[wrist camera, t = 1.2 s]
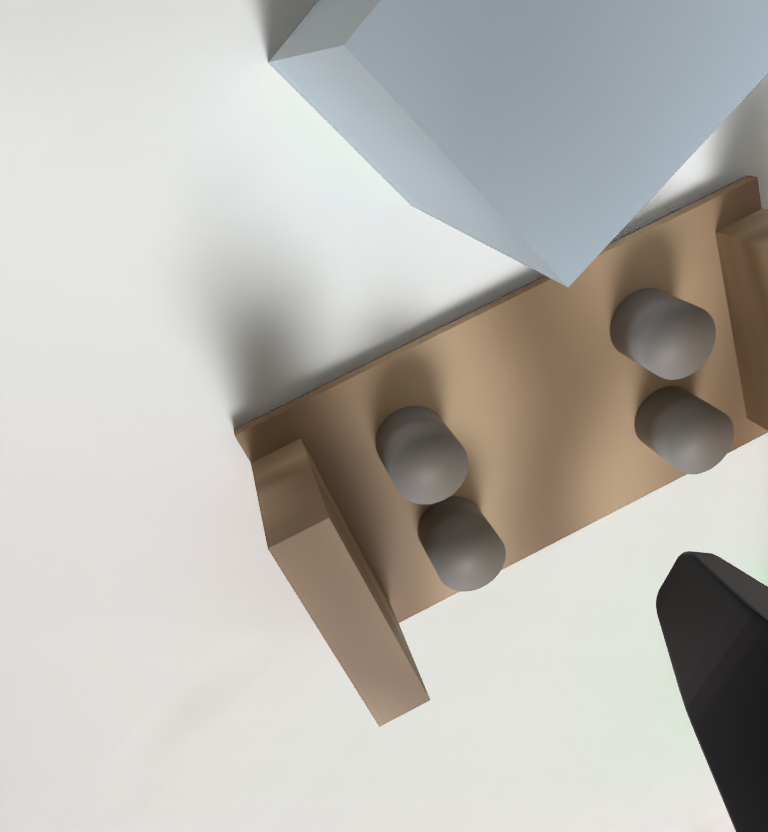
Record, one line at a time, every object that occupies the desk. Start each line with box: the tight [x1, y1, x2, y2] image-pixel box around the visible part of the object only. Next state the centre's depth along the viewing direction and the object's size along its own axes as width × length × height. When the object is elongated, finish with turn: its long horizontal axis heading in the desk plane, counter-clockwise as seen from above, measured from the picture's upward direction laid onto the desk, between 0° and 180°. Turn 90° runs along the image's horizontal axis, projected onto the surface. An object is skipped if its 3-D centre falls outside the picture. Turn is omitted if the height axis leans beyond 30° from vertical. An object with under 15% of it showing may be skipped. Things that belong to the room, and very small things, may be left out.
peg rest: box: [234, 176, 768, 727], centre depth 21 cm, size 17×9×5 cm, turn 112°
